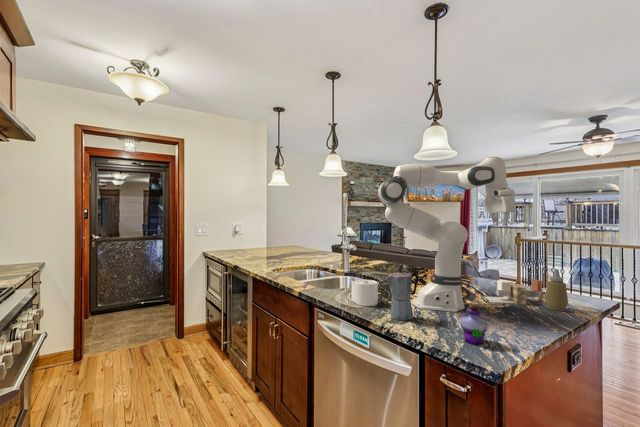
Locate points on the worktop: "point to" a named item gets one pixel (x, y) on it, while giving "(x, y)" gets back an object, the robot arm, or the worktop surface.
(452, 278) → the robot arm
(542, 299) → the rear saddle
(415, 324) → the worktop surface
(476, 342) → the potion bottle
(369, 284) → the toilet tissue
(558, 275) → the squeeze bottle
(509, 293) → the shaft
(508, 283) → the block
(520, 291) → the bearing block
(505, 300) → the mat
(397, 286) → the moka pot
